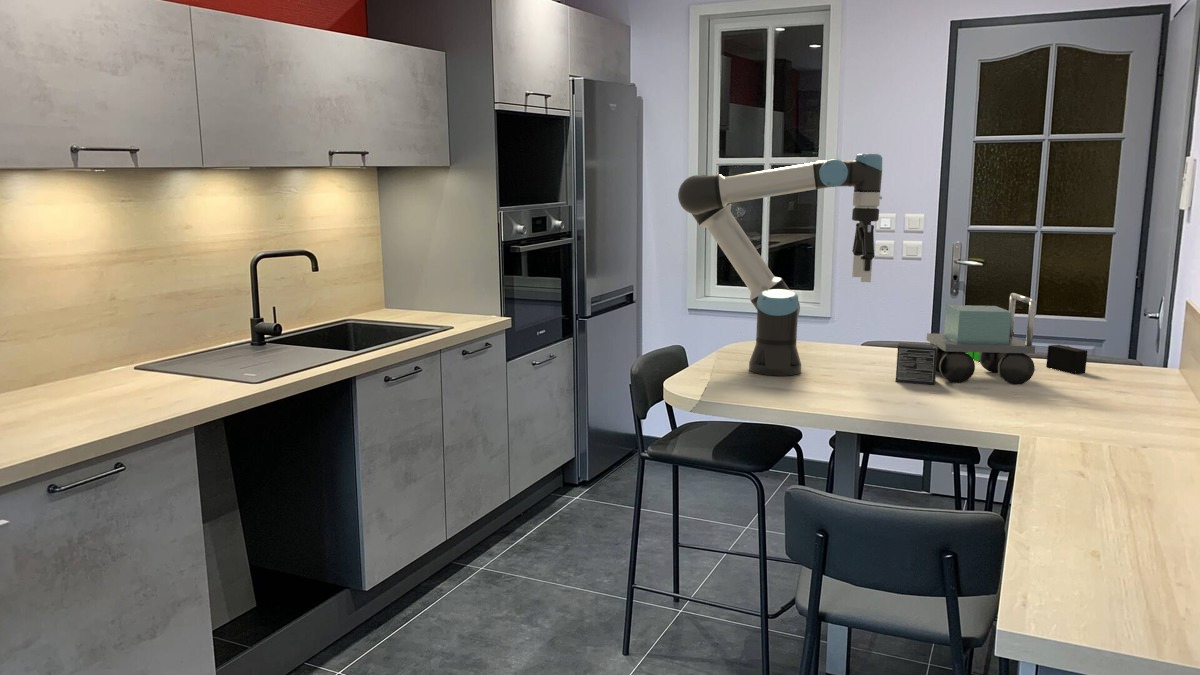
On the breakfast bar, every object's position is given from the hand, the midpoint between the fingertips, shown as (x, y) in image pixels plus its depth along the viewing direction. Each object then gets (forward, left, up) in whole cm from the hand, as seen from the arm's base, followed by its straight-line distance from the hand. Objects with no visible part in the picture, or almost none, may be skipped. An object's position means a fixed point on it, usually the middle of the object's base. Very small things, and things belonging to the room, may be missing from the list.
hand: (861, 279), depth 262 cm
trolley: (+32, -11, -26) cm, 43 cm away
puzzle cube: (+45, +16, -27) cm, 54 cm away
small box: (+13, -19, -27) cm, 35 cm away
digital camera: (+63, +2, -27) cm, 68 cm away
